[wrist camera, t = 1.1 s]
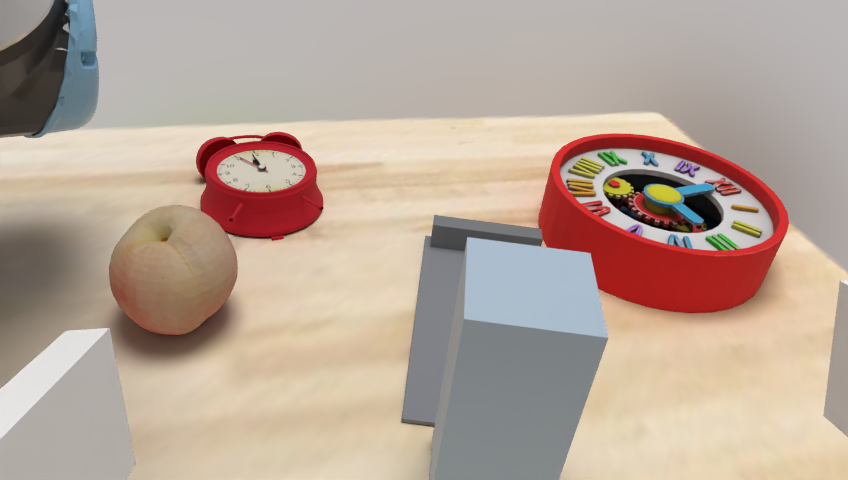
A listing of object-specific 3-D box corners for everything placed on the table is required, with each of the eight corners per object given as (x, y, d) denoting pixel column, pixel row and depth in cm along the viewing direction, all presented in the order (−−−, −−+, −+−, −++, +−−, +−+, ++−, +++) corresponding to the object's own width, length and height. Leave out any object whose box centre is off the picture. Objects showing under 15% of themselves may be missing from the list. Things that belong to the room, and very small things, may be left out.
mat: (562, 442, 43) (571, 415, 42) (401, 421, 43) (405, 394, 42) (541, 253, 59) (547, 229, 58) (425, 238, 59) (428, 214, 58)
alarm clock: (210, 218, 53) (181, 97, 61) (213, 271, 57) (185, 151, 66) (343, 201, 56) (297, 89, 65) (335, 252, 61) (293, 141, 70)
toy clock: (508, 146, 63) (675, 124, 71) (498, 200, 66) (658, 174, 74) (653, 277, 49) (842, 231, 57) (630, 338, 52) (811, 287, 60)
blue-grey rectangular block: (536, 543, 37) (608, 337, 29) (425, 528, 37) (463, 319, 29) (530, 451, 42) (590, 253, 34) (432, 439, 42) (467, 237, 34)
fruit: (100, 305, 49) (79, 209, 44) (207, 267, 53) (199, 176, 49) (148, 374, 44) (130, 275, 39) (260, 325, 49) (257, 232, 44)
